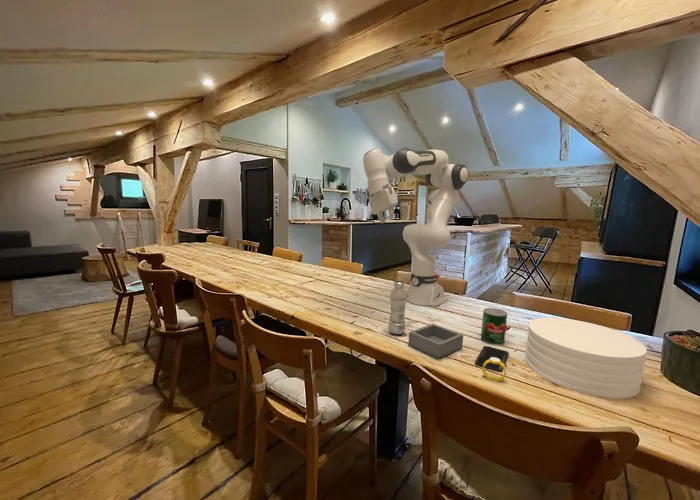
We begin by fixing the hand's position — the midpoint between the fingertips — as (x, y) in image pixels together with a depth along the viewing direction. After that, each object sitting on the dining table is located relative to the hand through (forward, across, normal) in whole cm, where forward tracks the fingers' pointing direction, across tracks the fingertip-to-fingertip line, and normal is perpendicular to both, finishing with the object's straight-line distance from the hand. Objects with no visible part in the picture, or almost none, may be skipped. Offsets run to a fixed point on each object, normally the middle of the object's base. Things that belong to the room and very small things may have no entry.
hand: (387, 221), depth 129 cm
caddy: (+47, -22, +3) cm, 52 cm away
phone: (+53, -33, -10) cm, 63 cm away
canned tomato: (+52, -21, -20) cm, 60 cm away
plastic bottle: (+43, -8, +10) cm, 45 cm away
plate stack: (+59, -44, -30) cm, 80 cm away
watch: (+53, -43, -2) cm, 68 cm away
